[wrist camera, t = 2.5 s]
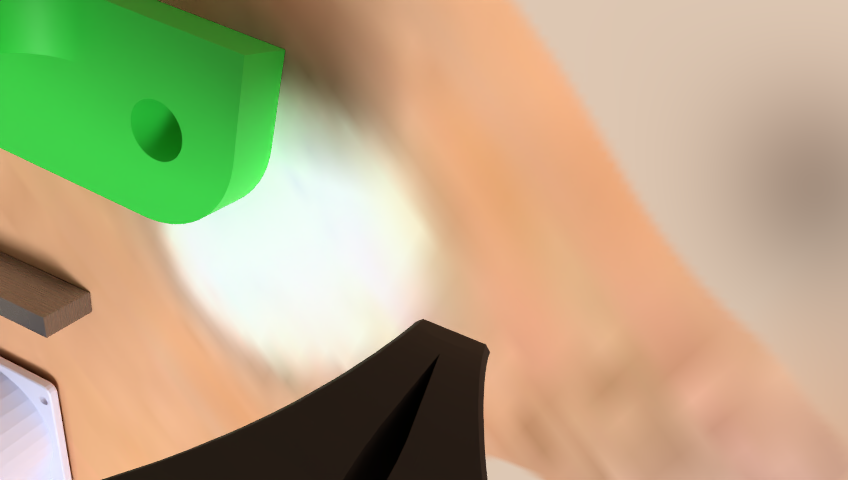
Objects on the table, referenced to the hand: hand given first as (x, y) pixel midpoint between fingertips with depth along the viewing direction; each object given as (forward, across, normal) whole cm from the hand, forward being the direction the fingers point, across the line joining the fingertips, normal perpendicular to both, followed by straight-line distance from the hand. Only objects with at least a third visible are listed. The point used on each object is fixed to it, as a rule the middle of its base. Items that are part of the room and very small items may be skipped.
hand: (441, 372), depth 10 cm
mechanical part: (+6, +14, -1) cm, 15 cm away
